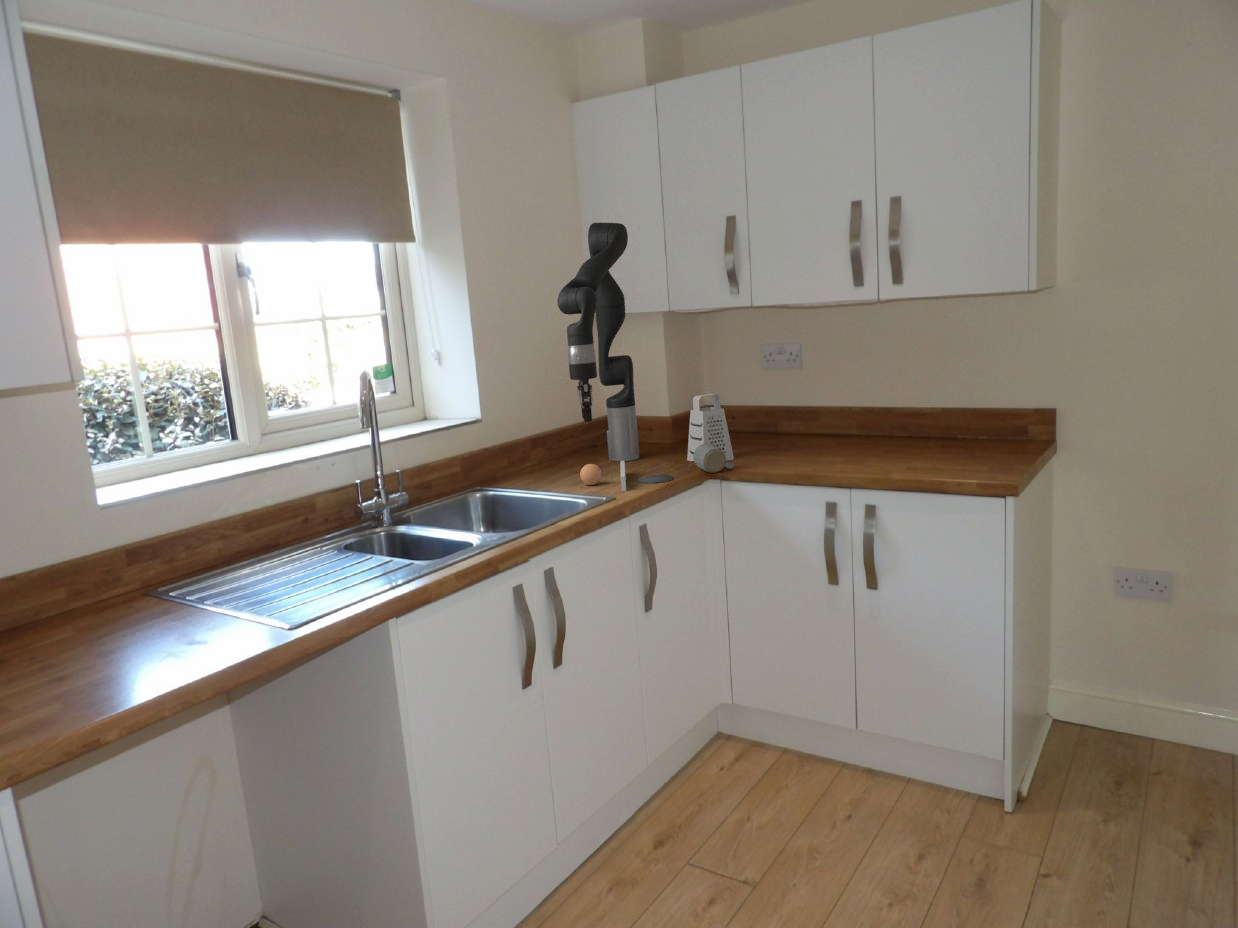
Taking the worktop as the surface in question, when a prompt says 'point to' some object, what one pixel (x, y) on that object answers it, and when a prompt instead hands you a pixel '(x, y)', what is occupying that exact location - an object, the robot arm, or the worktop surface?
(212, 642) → the worktop surface
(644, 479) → the pad
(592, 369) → the robot arm
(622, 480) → the low wall
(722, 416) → the grater
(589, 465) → the ball
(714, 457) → the ceramic mug
